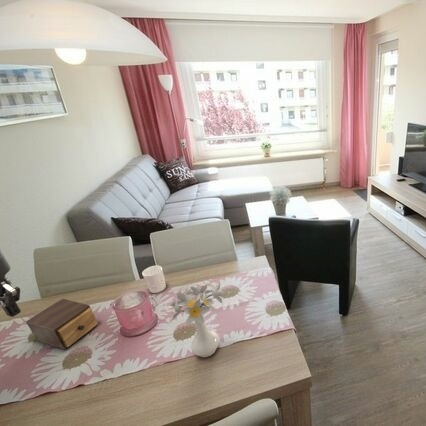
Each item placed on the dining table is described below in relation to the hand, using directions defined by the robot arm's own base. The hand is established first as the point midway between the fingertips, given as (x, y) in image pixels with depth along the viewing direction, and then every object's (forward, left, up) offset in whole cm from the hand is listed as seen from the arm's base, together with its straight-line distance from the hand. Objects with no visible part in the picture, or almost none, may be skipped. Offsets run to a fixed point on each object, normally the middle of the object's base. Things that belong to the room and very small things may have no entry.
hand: (14, 314), depth 78 cm
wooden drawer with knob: (-2, +26, -30) cm, 40 cm away
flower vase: (+43, -6, -31) cm, 53 cm away
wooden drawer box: (-4, +28, -31) cm, 42 cm away
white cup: (+27, +40, -31) cm, 57 cm away
